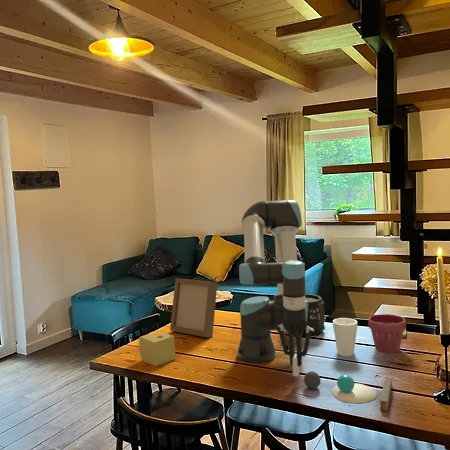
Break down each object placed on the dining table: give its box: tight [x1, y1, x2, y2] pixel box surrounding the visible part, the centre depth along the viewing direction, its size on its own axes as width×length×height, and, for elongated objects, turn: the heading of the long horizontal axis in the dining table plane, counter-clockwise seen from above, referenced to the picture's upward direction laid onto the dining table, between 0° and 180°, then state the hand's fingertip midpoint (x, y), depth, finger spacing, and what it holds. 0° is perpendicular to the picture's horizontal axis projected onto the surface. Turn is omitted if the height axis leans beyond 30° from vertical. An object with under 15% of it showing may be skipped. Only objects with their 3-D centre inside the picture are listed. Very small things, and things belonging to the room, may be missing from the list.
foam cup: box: [332, 317, 358, 357], centre depth 185 cm, size 10×9×13 cm
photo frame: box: [169, 277, 218, 338], centre depth 220 cm, size 15×22×25 cm
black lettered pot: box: [294, 293, 326, 338], centre depth 213 cm, size 18×18×16 cm
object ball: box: [336, 374, 355, 393], centre depth 152 cm, size 6×6×6 cm
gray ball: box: [303, 371, 322, 390], centre depth 156 cm, size 6×6×6 cm
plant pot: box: [368, 313, 407, 354], centre depth 187 cm, size 14×14×13 cm
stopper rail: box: [379, 376, 393, 412], centre depth 147 cm, size 2×18×3 cm, turn 157°
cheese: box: [138, 332, 176, 367], centre depth 186 cm, size 10×11×10 cm
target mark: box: [331, 382, 378, 404], centre depth 151 cm, size 14×14×1 cm
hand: (296, 374), depth 159 cm, fingers closed
